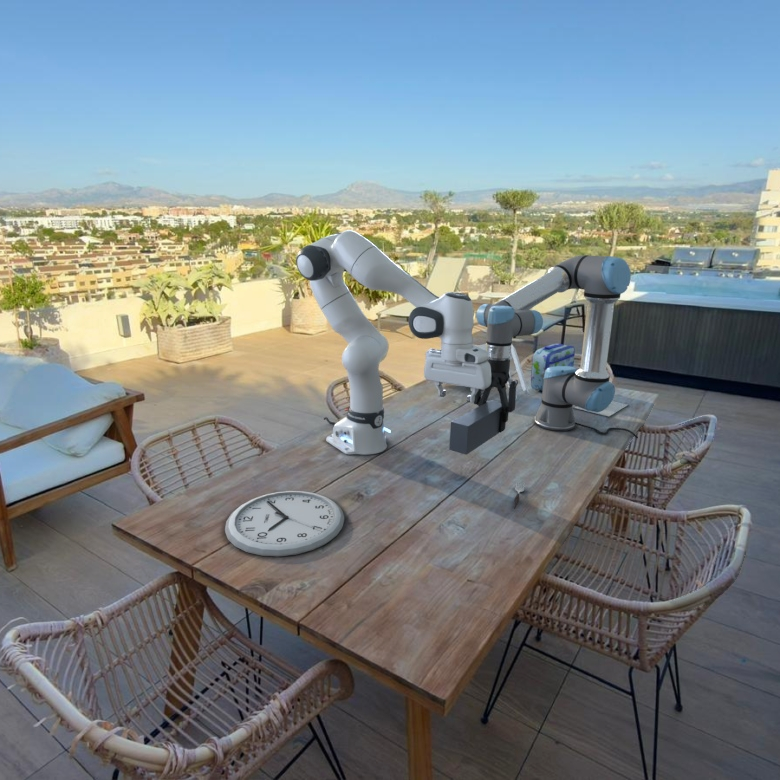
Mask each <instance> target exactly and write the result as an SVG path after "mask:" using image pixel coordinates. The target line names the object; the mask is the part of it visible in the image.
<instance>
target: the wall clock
mask: <svg viewBox="0 0 780 780" xmlns="http://www.w3.org/2000/svg"><path fill="white" fill-rule="evenodd" d="M344 515H345V514H344V511H343V509H342V508H341V507H340V505H338V503H336V502H335V501H334V500H333V499H332V500H331V499H330V498H329V497H327V496H324V495H322V494H318V493H316V492H311V491H310V492H309V491H305V490H304V491H303V490H284V491H276V492H272V493H267V494H264V495H260V496H257V497H255V498H252V499H250V500H248V501H246V502H245V503H243V504H241V505H240V506H238V508H236V509H235V510H233V511H232V512H231V513H230V515H229V517H228V518H227V520H226V521H225V527H224V532H225V536H226V538H227V540H228V541H229V542H230V544H231V545H233V546H234V547H235V548H237V549H240V550H241V551H244V552H245V553H248V554H252V555H256V556H262V557H287V556H294V555H296V556H297V555H299V554H304V553H307V552H311V551H313V550H316V549H318V548H320V547H322V546H324V545H327V544H328V543H329V542H331V541H332V540H333V539H335V538H336V537H337V536H338V534H339V533H340V532H341V530H342V529H343V527H344V522H345V516H344Z"/></svg>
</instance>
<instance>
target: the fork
mask: <svg viewBox="0 0 780 780" xmlns="http://www.w3.org/2000/svg"><path fill="white" fill-rule="evenodd" d="M516 480H517V481H516V486H515V488H514V489H515V491H516V492H517V494H516V496H515V498H514V506H513V509H514V510H516V507H517V506H518V503H519V502H520V493H523V492H525V490H526V482H524V479H522V480H521V478H520V479H516Z"/></svg>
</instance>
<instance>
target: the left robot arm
mask: <svg viewBox="0 0 780 780" xmlns="http://www.w3.org/2000/svg"><path fill="white" fill-rule="evenodd" d="M295 264H296V268H297V270H298V272H299V274H300V275H301V276H302V277H303V278H304V279H305V280H307V281H309V287H310V289H311V292H312V295H313V297H314V299H315V301H316V303H317V305H318V306H319V308H320V311H321V312H322V314H323V315H324V316H325V318H326V320H327V322H328V324H329V326H330V327H331V329H332V330H333V331H334V332H335V333H337V334H339V335H340V337H342V338H343V339H344V340H345V341H346V342H347V345H346V346H345V348H344V350H343V352H342V354H341V362H342V366H343V368H344V369H345V370H346V374H347V379H348V384H349V406H348V407H344V412H347V413H346V416H344V417H343V418H341V419H338V421H337V422H334V421H332V420H331V421H330V419H329V417H327V416H325V417H323V420H324V421H325V420H326V422H327V423H328V424H330V425H333V428H332V433H331V434H329V435H328V436H327V437H326V438H325V441H326V442H327V443H328V444H330V446H333V447H334V448H336V449H337V450H339V451H340V452H342V453H343V454H345V455H347V456H348V455H350V456H352V455H363V456H365V455H366V456H367V455H376V454H379V453H382V452H384V451H386V449H387V447H388V445H387V444H388V443H387V436H386V434H385V432H387V433H389V434H391V433H392V432H391V429H389V428H387V427H385V423H384V422H385V421H384V419H385V408H384V405H383V404H384V401H383V400H384V385H383V384H382V381H381V376H380V371H379V368H380V364H381V363H382V362H383V361H384V360H385V359H386V358H387V355H388V354H389V353H388V352H389V349H390V344H389V340H388V339H387V337H386V336H385V335H384V334H382V333H381V332H380V331H379V330H378V329H377V328H376V327H375V325H374V324H373V323H372V322H371V321H370V320H369V318H368V317H367V316H366V315H365V314H364V312H363V311H362V309H361V307H360V306H359V304H358V303H357V301H356V299H355V297H354V296H353V294H352V293H351V291H350V289H349V288H348V285H347V284H346V282H345V281H344V278H343V277H344V276H343V274H344V272H347V273H348V274H349V275H350V276H351V277H352V278H353V279H354V280H356V281H357V282H358V283H359V284H361V285H362V286H363V287H365V288H367V289H369V290H371V291H379V292H380V291H382V292H388V293H393V294H396V295H398V296H400V297H402V298H404V299H405V300H406V301H407V302H409V304H411V305H412V306H414V308H413V309H412V310H411V312H410V314H409V316H408V327H409V330H410V332H411V333H412V335H414V337H416V338H418V339H422V340H429V339H434V338H439V339H440V348H439V349H435V348H429V349H428V350H426V352H425V354H424V355H425V363H424V369H423V377H424V379H425V380H426V381H432V382H434V386H435V388H436V390H437V391H438V397H441V398H444V397H446V396H447V390H446V389H444V388H443V384H444V383H448V384H450V385H454V386H459V387H465V388H470V392H471V393H470V394H468V395H467V396H466V398H467V399H466V402H467V403H473V404H474V400H475V395H476V393H477V392H478V390H479V389H482V391H484V389H486V388H488V387H489V386H490V385H491V366H490V364H489V362H488V361H486V360H488V359H489V353H488V352H487V351H485V350H483V349H481V348H479V347H477V346H478V345H475V344H474V338H473V329H474V322H475V321H474V320H475V319H474V304H473V301H472V299H471V297H470V296H469V295H467V294H465V293H461V292H454V291H451V292H450V291H449V292H445V293H444V294H443V295H442V296H439V295H438V296H437V295H436V294H435V293H433V292H432V291H430V290H429V289H428V288H427V287H426V286H424V284H422V283H421V282H419V281H418V280H417V279H415V278H414V277H413V276H412V275H410V274H409V273H407V272H406V271H405V270H404V269H402V268H401V267H400V266H399V265H398V264H396V263H395V262H394V261H393V260H392V259H390V258H389V256H387V255H386V254H385V253H384V252H383V251H382V250H381V249H380V248H378V247H377V246H376V245H375V244H374V243H373V242H372V241H371V240H369V239H367V238H366V237H365V236H364V235H362V234H360V233H358V232H356V231H355V230H351V229H347V230H344V231H341V232H336V233H335V234H331V235H327V236H324V237H321V238H319V239H318V240H316V241H314V242H312V243H310V244H307V245H305V246H304V247H302V248H301V249H300V250H298V252H297V253H296V256H295Z"/></svg>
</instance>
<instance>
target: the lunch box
mask: <svg viewBox="0 0 780 780" xmlns="http://www.w3.org/2000/svg"><path fill="white" fill-rule="evenodd" d="M575 352H576V351H575V346H573V345H568V344H562V343H553V344H550V345H547V346H546V345H545V346H544V347H541V348H538V349H537V350H536V351H535V352H534V354H533V357H532V362H531V371H530V372H531V374H530V387H531V389H533V390H539V391H543V380H544V379H543V378H544V375H545V370H546V369H547V368H549V367H555V366H570V367H574V363H575Z"/></svg>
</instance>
